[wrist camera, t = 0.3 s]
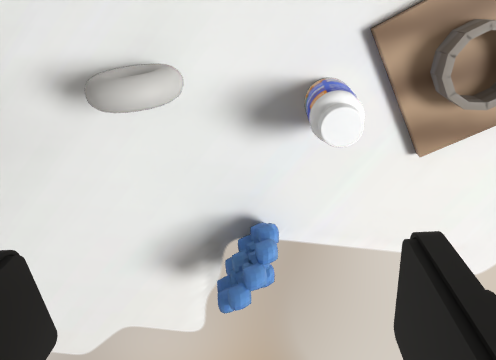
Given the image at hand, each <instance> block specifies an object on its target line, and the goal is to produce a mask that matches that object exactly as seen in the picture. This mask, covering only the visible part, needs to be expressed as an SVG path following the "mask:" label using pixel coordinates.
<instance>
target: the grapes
mask: <svg viewBox="0 0 496 360" xmlns="http://www.w3.org/2000/svg"><path fill="white" fill-rule="evenodd" d="M250 234H251V235H248V236H245V237H243V238H241V239H239V240H238V249H239V252H238V253H236V254H234V255H232V257H231V258H229V259H227V260H226V261H225V262H226V263H225V265H226V273H227V275H228V276H226V277H223V278H222V279H220V280H218V281H217V288H218V306H219V309H220V311H221V312H222V313H229V312H232V311H234V310H235V311H236V310H240V309H243V308H245V307H247V306H248V305H249V304H251V291H253V290H257V289H259V288H263V287H267V286H269V285H270V284H272V283H273V282H274V269H273V267H272V265H270V263H271V262H273V261H275V260H276V259H277V258H278V248H277V244H276V243H278V241H279V232H278V228H277V226H276V225H275V224H272V223H269V224H266V223H263V222H262V223H259V224H256V225H254V226H252V227H251V229H250Z"/></svg>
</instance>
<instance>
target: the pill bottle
mask: <svg viewBox="0 0 496 360" xmlns="http://www.w3.org/2000/svg"><path fill="white" fill-rule="evenodd" d="M305 110H306V113H307V116H308V119H309V123H310V126H311V129H312V131H313V133H314V134H315V135H316V136H317V137H318V138H319V139H320V140H322V141H324V142H326V143H328V144H329V145H331V146H333V147H338V148H342V147H347V146H350V145H352V144H353V143H355V142H356V141H357V140H358V139H359V138H360V136H361V135H362V132H363V129H364V118H365V113H364V108H363V105H362V104H361V102H360V100H359V99H358V98H357V97H356V95H355V94H354V93H353V92H352V91H351V89H350V88H349V87H348V86H347V85H346V84H345V83H344V82H342V81H341V80H339V79H336V78H324V79H321V80H319V81H317V82H315V83H314V84H313V85H312V86H311V87H310V88H309V90H308V91H307V93H306V96H305Z"/></svg>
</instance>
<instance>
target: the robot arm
mask: <svg viewBox="0 0 496 360" xmlns="http://www.w3.org/2000/svg"><path fill="white" fill-rule="evenodd" d="M394 332H395V338H396V341H397V344H398V346H399V349H400V352H401V354H402V357H403V360H496V295H495V294H494V293H493V292H491V291H489V290H485V289H484V287H483V286H482V285H481V283H480V282H479V281H478V279H477V278H476V277H475V275H474V274H473V273H472V272H471V270H470V269H469V268H468V266H467V265H466V264H465V262H464V261H463V260H462V258H461V257H460V256H459V254H458V253H457V252H456V250H455V249H454V248H453V246H452V245H451V244H450V242H449V241H448V240H447V239H446V237H445V236H444V235H443V234H442V233H441V232H439V231H434V232H414V233H412V235H411V237H410V239H405V240H404V241H403V244H402V252H401V262H400V271H399V281H398V291H397V299H396V309H395V319H394ZM56 341H57V330H56V328H55V326H54V323H53V321H52V319H51V317H50V314H49V312H48V310H47V308H46V305H45V303H44V301H43V299H42V297H41V294H40V292H39V290H38V288H37V285H36V283H35V281H34V279H33V276H32V274H31V272H30V270H29V267H28V265H27V263H26V261H25V259H24V258H23V257H22V256H20V255H19V253H17V252H16V251H14V250H1V251H0V360H46V358H47V357H48V355H49V354H50V352H51V351H52V349H53V348H54V346H55V344H56Z"/></svg>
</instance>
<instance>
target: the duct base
mask: <svg viewBox="0 0 496 360" xmlns="http://www.w3.org/2000/svg"><path fill="white" fill-rule="evenodd" d="M371 31H372V34H373V37H374V40H375V42H376V45H377V48H378V50H379V53H380V56H381V59H382V61H383V64H384V67H385V69H386V72H387V75H388V78H389V80H390V83H391V86H392V88H393V91H394V94H395V96H396V99H397V102H398V105H399V107H400V110H401V113H402V115H403V118H404V121H405V124H406V126H407V129H408V132H409V134H410V137H411V140H412V143H413V145H414V148H415V151H416V153H417V154H418V156H419V157H422V156H424V155H427V154H429V153H432V152H434V151H436V150H439V149H441V148H444V147H446V146H448V145H451V144H453V143H456V142H458V141H460V140H463V139H465V138H468V137H470V136H472V135H475V134H477V133H480V132H482V131H484V130H487V129H489V128H491V127H494V126H496V0H424V1H422V2H420V3H418V4H416V5H415V6H413V7H411V8H409V9H407V10H405V11H403V12H401V13H399V14H398V15H396V16H394V17H392V18H390V19H388V20H386V21H384V22H383V23H381V24H379V25H377V26H375V27H373V28H371Z"/></svg>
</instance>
